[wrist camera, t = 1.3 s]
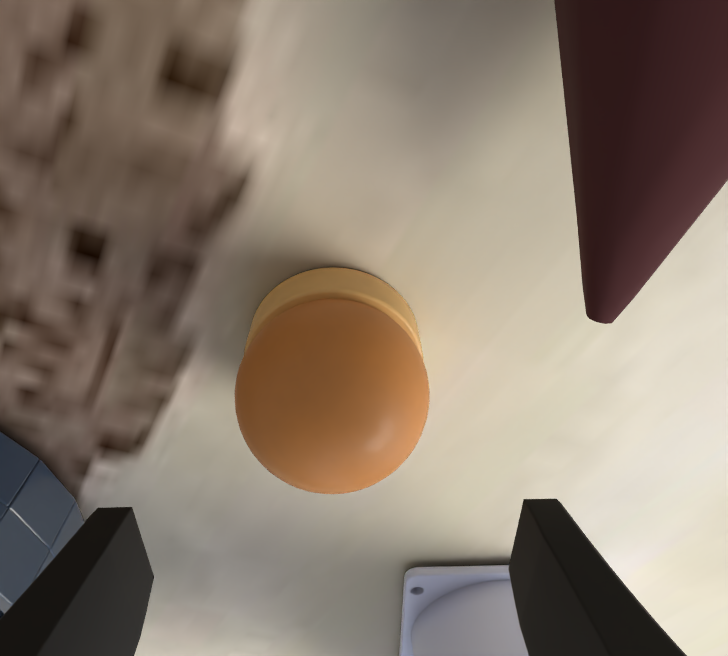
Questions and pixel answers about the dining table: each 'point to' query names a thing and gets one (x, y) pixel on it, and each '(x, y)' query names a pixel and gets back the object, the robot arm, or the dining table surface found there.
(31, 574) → the bowl
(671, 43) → the icecream
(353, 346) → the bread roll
